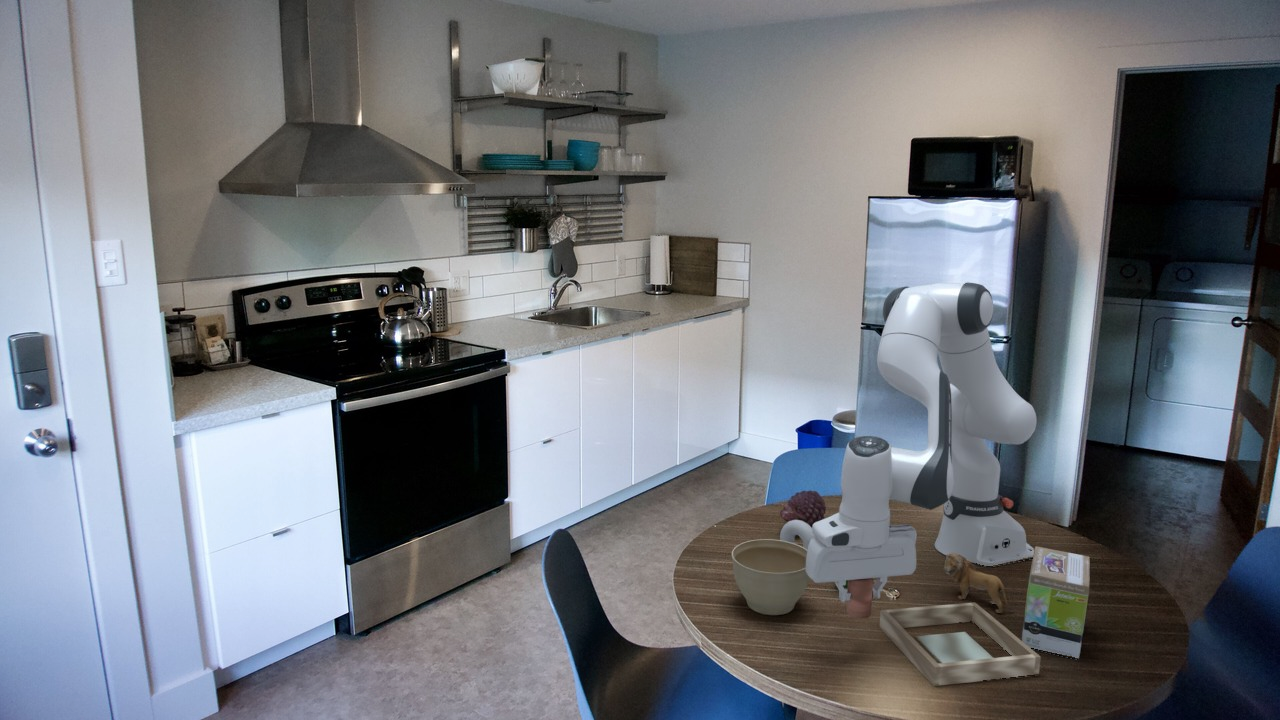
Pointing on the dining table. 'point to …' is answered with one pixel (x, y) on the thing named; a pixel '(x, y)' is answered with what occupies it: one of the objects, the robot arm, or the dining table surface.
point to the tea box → (1056, 601)
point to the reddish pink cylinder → (860, 598)
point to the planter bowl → (770, 574)
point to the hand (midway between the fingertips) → (859, 598)
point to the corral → (958, 645)
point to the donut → (797, 532)
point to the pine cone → (804, 508)
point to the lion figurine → (974, 579)
